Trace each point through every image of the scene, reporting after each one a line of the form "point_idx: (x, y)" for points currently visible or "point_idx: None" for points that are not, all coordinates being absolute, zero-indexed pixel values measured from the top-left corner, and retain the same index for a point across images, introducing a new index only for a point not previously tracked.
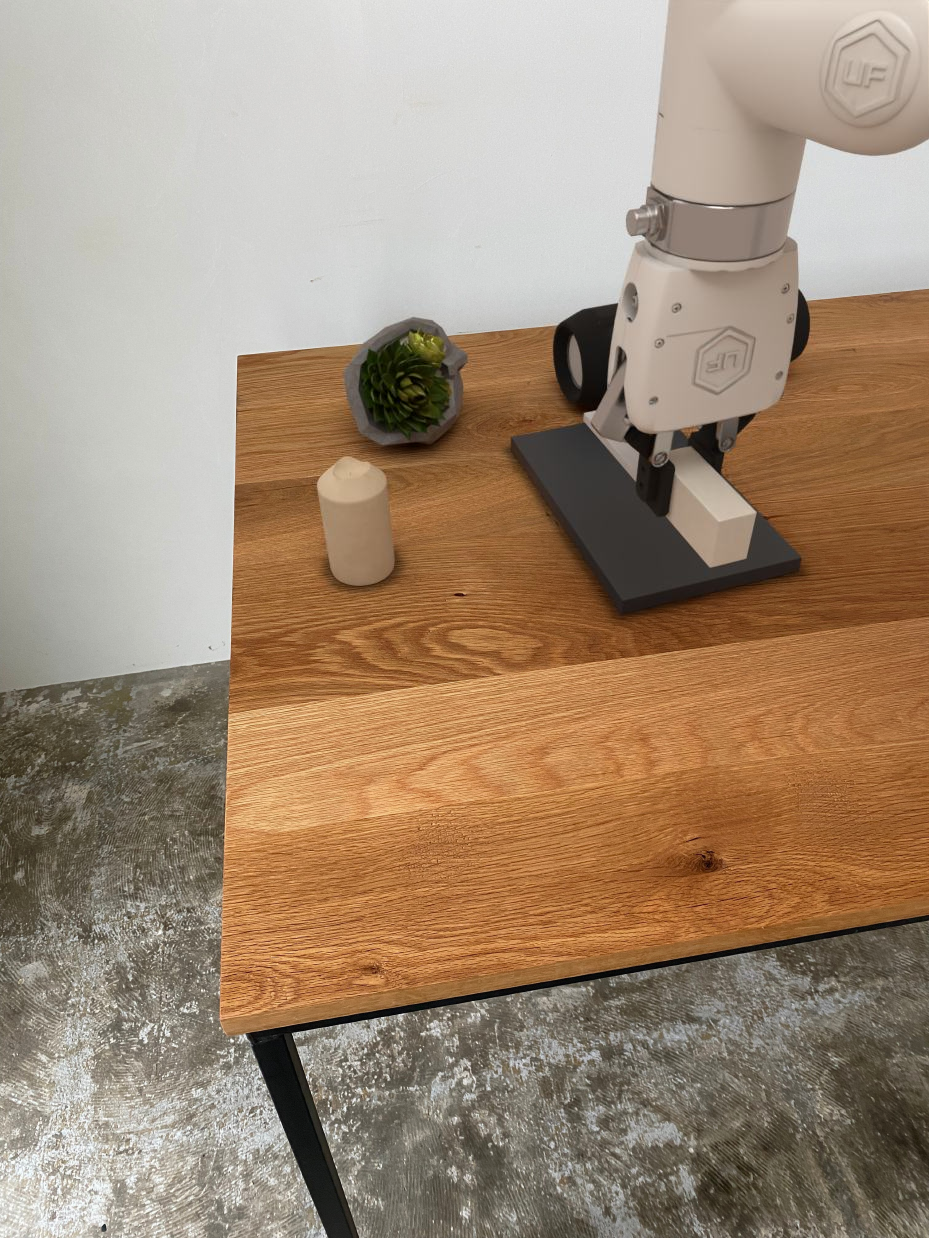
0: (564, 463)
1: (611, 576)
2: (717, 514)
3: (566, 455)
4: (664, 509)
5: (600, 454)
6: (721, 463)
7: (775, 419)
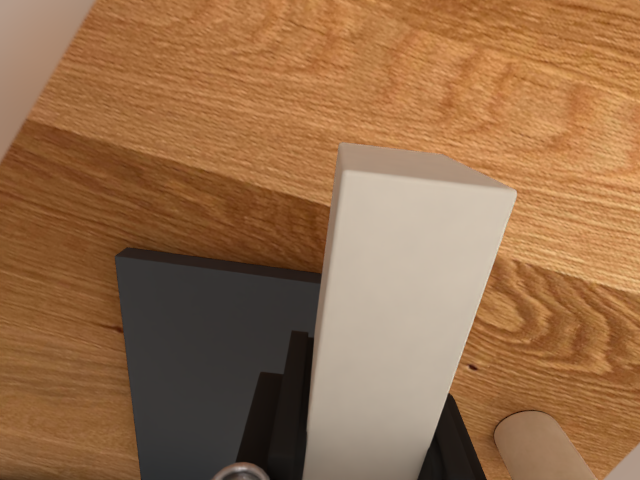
0: None
1: None
2: (490, 228)
3: None
4: None
5: None
6: (250, 424)
7: (31, 437)
